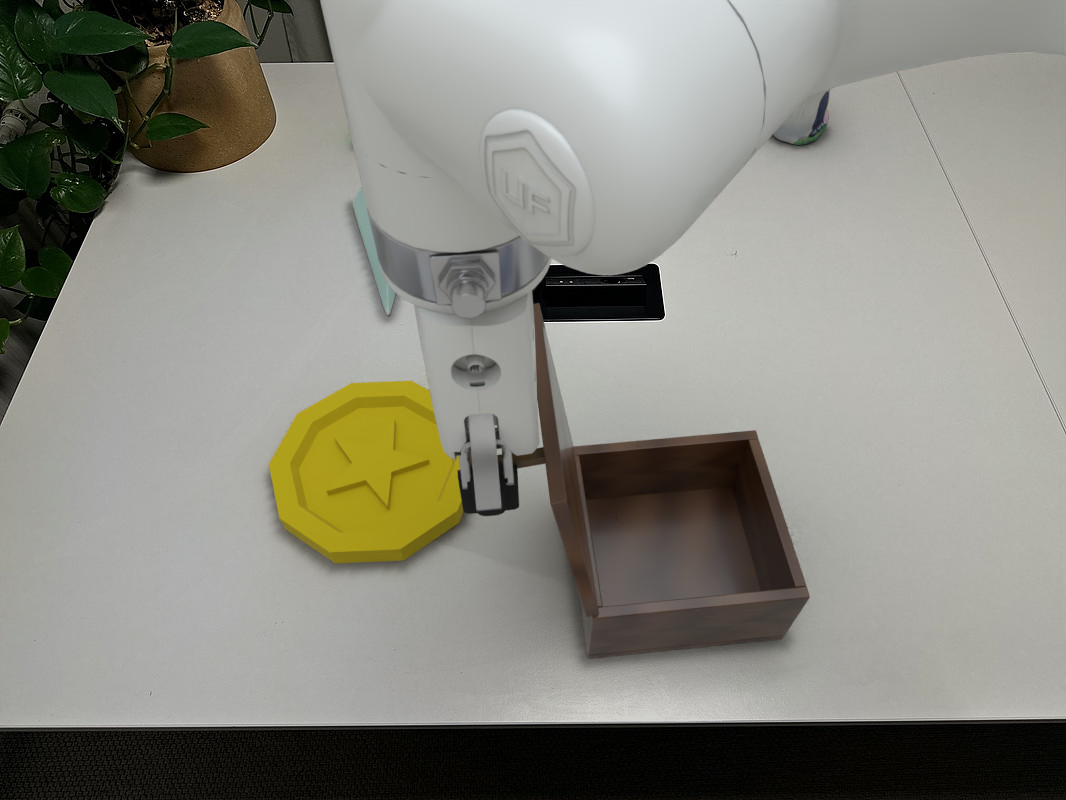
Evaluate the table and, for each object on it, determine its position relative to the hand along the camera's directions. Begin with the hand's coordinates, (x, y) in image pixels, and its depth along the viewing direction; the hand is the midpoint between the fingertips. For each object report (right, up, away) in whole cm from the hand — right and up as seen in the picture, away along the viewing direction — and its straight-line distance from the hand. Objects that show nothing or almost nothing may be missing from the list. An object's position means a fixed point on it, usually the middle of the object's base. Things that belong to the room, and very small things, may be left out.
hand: (487, 456), depth 47 cm
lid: (+5, -1, +2) cm, 5 cm away
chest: (+13, -10, +15) cm, 22 cm away
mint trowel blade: (-11, +19, +37) cm, 44 cm away
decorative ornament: (+35, +36, +49) cm, 70 cm away
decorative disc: (-11, -3, +21) cm, 23 cm away
